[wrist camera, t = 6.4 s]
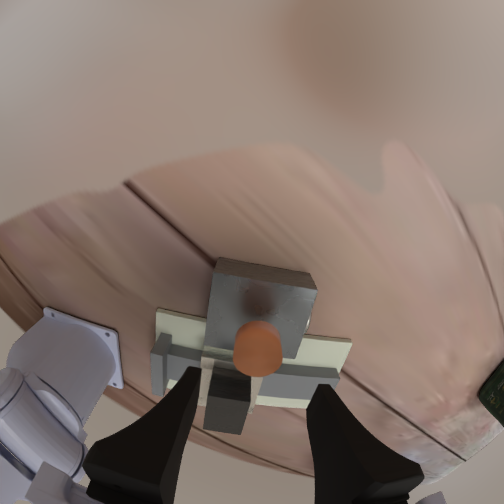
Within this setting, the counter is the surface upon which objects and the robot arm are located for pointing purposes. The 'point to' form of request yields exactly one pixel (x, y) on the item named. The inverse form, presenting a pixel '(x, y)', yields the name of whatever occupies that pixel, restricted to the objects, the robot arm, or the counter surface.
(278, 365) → the plunger
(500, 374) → the coffee jar
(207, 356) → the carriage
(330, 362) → the track board
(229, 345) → the gauge box
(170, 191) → the counter surface
